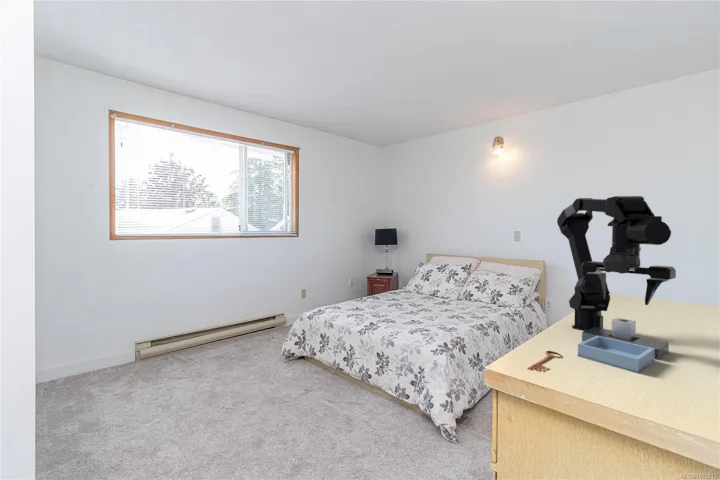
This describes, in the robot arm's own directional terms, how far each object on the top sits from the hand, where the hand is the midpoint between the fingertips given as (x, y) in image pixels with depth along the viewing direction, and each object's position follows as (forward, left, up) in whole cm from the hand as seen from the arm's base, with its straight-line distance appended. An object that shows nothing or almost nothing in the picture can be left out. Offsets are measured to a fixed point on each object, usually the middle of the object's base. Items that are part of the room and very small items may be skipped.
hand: (624, 301), depth 85 cm
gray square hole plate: (0, 0, -12) cm, 12 cm away
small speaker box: (0, 0, -12) cm, 12 cm away
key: (-6, -28, -13) cm, 31 cm away
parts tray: (+2, -12, -12) cm, 17 cm away
